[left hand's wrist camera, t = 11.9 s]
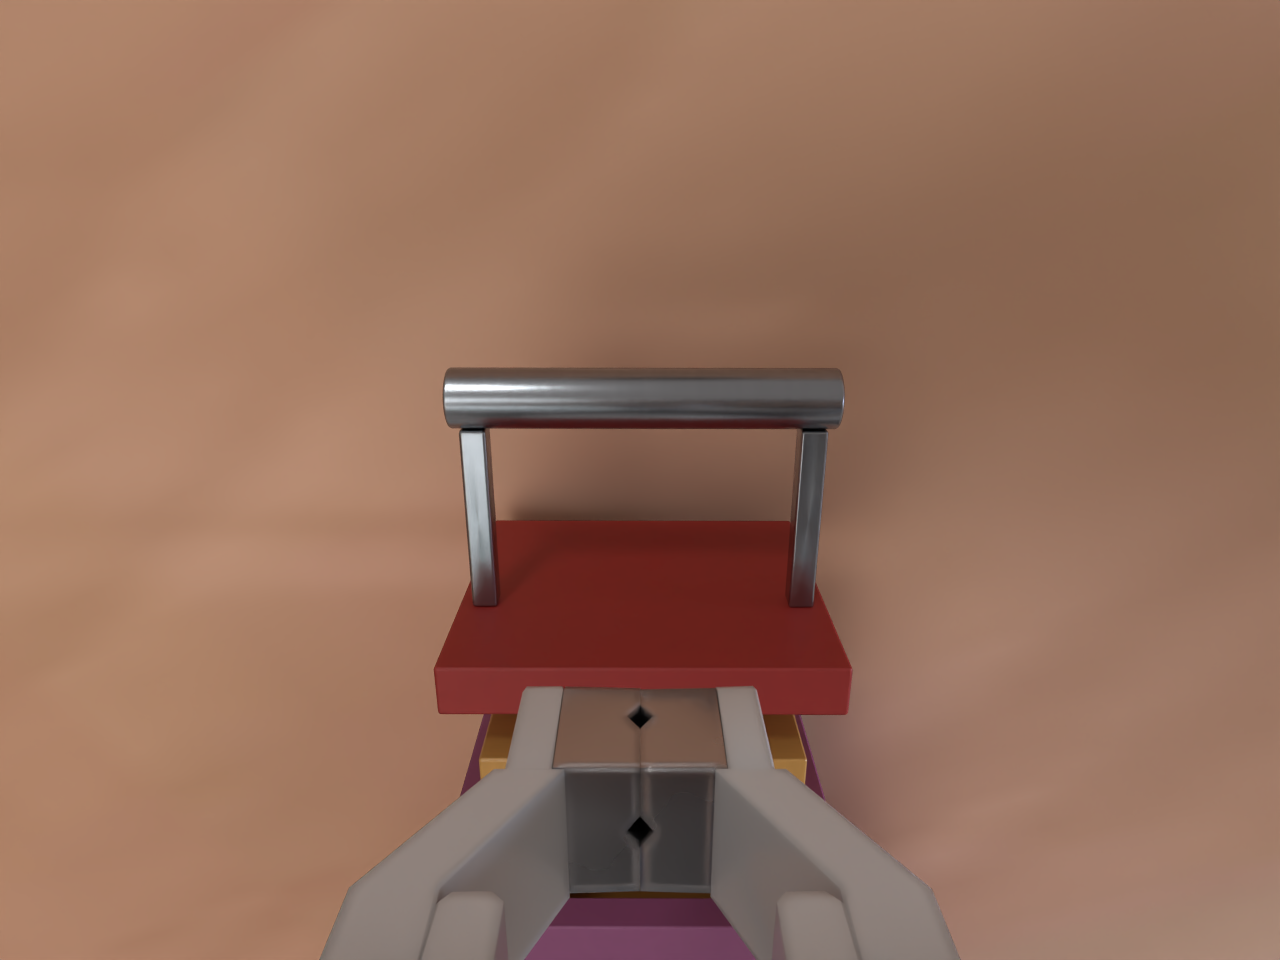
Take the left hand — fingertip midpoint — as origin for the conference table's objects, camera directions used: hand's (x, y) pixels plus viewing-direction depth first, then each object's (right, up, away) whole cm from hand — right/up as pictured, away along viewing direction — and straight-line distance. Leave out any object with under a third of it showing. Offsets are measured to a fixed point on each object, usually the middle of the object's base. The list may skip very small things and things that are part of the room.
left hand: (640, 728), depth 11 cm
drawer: (0, -1, +15) cm, 15 cm away
